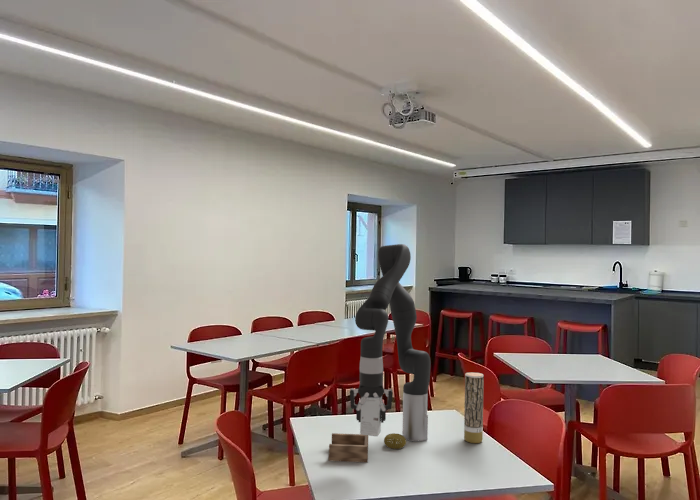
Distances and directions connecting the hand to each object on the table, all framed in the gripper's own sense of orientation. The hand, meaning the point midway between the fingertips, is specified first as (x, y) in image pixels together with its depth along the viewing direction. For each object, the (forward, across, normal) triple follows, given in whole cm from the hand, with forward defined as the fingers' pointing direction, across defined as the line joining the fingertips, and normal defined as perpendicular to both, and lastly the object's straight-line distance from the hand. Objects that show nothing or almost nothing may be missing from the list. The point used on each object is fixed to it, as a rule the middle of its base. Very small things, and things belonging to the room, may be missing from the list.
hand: (370, 421), depth 169 cm
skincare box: (+4, 0, 0) cm, 4 cm away
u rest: (+15, +7, -12) cm, 21 cm away
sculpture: (+16, -9, -22) cm, 29 cm away
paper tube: (+16, -39, -30) cm, 52 cm away
